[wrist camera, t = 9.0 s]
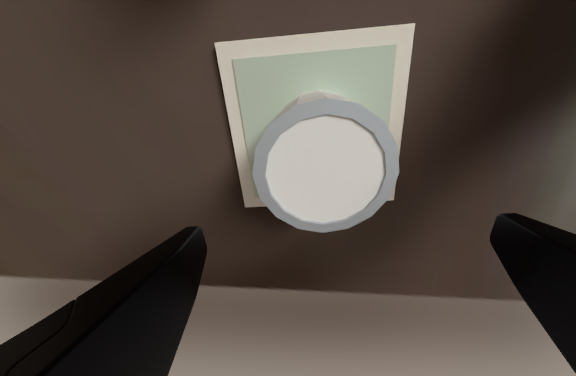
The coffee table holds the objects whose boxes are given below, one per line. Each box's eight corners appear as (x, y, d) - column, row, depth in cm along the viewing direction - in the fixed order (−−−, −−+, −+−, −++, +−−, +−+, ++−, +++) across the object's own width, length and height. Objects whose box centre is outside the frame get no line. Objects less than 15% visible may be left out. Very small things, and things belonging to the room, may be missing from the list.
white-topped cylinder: (386, 103, 17) (432, 133, 11) (340, 188, 21) (357, 249, 14) (288, 62, 17) (280, 71, 10) (255, 158, 20) (235, 209, 13)
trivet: (411, 24, 16) (416, 22, 15) (391, 196, 22) (394, 201, 21) (217, 42, 17) (213, 42, 16) (246, 203, 22) (244, 208, 22)
